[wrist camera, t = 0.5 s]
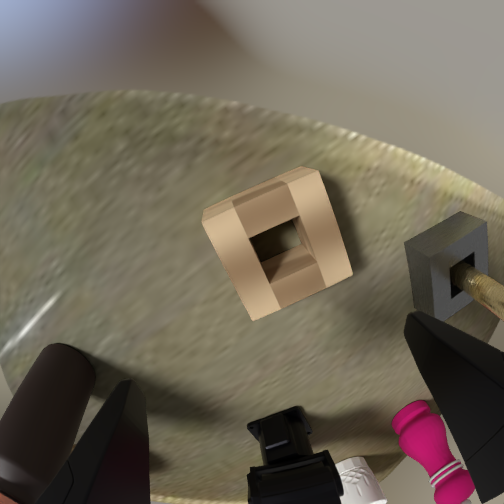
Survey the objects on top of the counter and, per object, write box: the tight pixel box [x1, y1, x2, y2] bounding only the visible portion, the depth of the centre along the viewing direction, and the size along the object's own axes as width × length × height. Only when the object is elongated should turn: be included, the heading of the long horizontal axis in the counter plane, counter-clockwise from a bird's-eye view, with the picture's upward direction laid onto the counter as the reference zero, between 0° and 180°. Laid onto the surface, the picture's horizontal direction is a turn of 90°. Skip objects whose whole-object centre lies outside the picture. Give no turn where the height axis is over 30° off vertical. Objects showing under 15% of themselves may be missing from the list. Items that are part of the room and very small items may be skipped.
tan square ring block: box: [202, 166, 353, 321], centre depth 22 cm, size 8×8×4 cm
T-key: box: [449, 260, 504, 321], centre depth 20 cm, size 8×2×15 cm, turn 54°
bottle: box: [0, 344, 95, 504], centre depth 16 cm, size 7×7×20 cm
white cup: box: [335, 456, 388, 504], centre depth 34 cm, size 8×8×10 cm
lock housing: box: [404, 211, 488, 321], centre depth 25 cm, size 8×8×4 cm
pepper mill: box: [392, 400, 475, 504], centre depth 26 cm, size 7×7×20 cm
